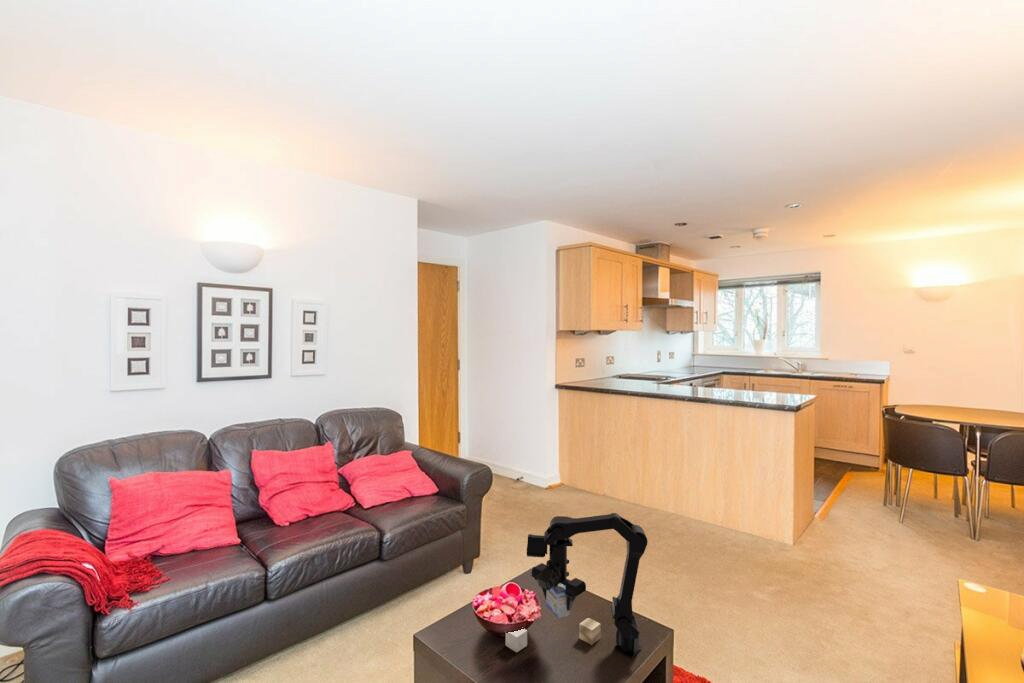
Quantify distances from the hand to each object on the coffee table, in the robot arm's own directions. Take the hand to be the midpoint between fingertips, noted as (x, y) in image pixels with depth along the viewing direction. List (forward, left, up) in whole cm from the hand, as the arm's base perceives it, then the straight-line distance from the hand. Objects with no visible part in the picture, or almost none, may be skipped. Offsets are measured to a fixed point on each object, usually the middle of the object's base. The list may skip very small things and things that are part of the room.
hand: (557, 604), depth 156 cm
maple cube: (-6, -10, -13) cm, 18 cm away
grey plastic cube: (+9, +10, -13) cm, 19 cm away
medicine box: (0, 0, -2) cm, 2 cm away
